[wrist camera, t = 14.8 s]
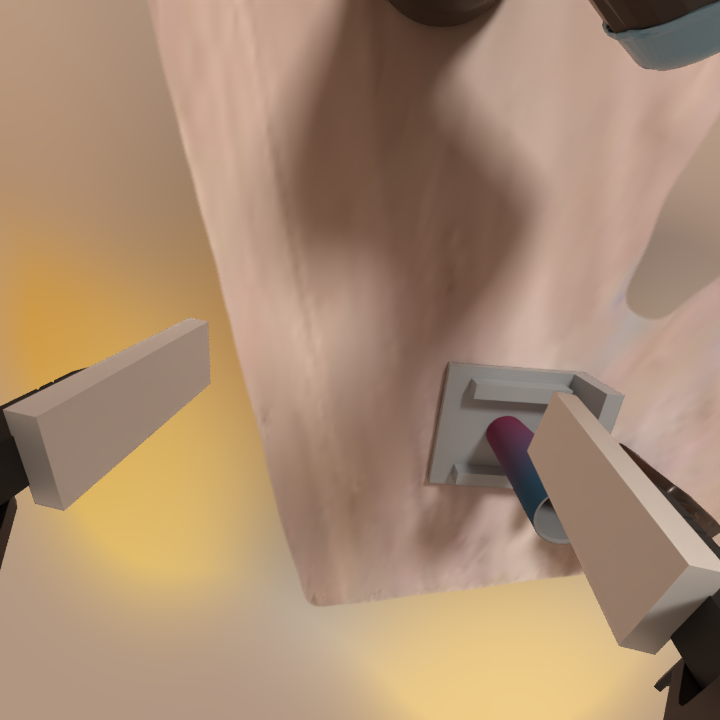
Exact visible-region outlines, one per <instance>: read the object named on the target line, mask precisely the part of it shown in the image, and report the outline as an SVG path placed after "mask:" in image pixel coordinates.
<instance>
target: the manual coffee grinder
mask: <svg viewBox="0 0 720 720" xmlns="http://www.w3.org/2000/svg"><path fill="white" fill-rule="evenodd" d="M619 445H620V446H621V447H622V448H623V450H624V451H625V452H626V453H627V454H628V455H629V456H630V458H631V459H632V460H633V461H634V462H635V463H636V464H637V466H638V467H639V468H640V469H641V470H642V471H643V473H644V474H645V475H646V476H647V477H648V478H649V479H650V481H651V482H652V483H653V484H655V485H658V486H659V487H660V488H662V489H663V490H664V491H665V492H667V493H668V494H669V495H671V496H672V497H673V498H674V499H676V500H677V501H678V502H679V503H680V504H681V505H682V506H683V507H684V508H685V510H686V511H687V512H688V513H689V514H690V515H691V516H692V517H693V521H696V522H697V523H698V524H699V525H700V526H701V527H702V528H703V530H704V531H705V532H706V535H707V536H710V537H711V538H713V537H714V536H716V535H717V534H719V533H720V525H719V524H718V523H717V521H716V520H715V519H714V518H713V517H712V516H711V515H710V514H709V513H708V512H706V511H705V510H704V509H703V508H702V507H701V506H700V505H699V504H698V503H697V502H696V501H695V500H694V499H693V498H692V497H691V496H690V495H688V494H687V493H685V492H684V491H683V490H681V489H680V488H678V487H677V486H676V485H674V484H673V483H672V482H670V481H669V480H668V479H667V478H665V477H664V476H663V475H661V474H660V473H659V472H658V471H656V470H655V469H654V468H653V467H651V466H650V465H649V464H648V463H646V462H645V461H644V460H643V459H642V458H641V457H640V456H639V455H638V454H636V453H635V452H633V451H632V450H630V449H629V448H627V447H626V446H624V445H623V444H621V443H619Z"/></svg>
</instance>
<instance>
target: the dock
mask: <svg viewBox="0 0 720 720" xmlns="http://www.w3.org/2000/svg"><path fill="white" fill-rule="evenodd" d="M554 391H557V392H562V393H567V394H572V395H576V396H577V397H578V398H579V399H580V400H581V401H582V403H583V404H584V405H585V406H586V407H587V408H588V409H589V411H590V412H591V413H592V414H593V415H594V416H595V417H596V419H597V420H598V421H599V422H600V423H601V424H602V425H603V427H604V428H605V429H606V430H607V431H608V432H609V434H611V432H612V429H613V426H614V423H615V421H616V418H617V415H618V413H619V410H620V407H621V405H622V402H623V399H624V397H625V395H623V394H621V393H620V392H618V391H616V390H614V389H613V388H611V387H609V386H608V385H606V384H604V383H602V382H601V381H599V380H597V379H595V378H594V377H592V376H590V375H589V374H587V373H585V372H572V371H559V370H545V369H532V368H518V367H505V366H491V365H478V364H464V363H451V362H448V367H447V373H446V379H445V384H444V390H443V396H442V401H441V407H440V413H439V418H438V424H437V429H436V435H435V441H434V446H433V452H432V458H431V463H430V469H429V475H428V481H429V483H437V484H453V485H461V486H477V487H494V488H510V489H513V487H512V485H511V484H510V482H509V480H508V478H507V476H506V474H505V472H504V470H503V468H502V467H501V465H500V463H499V461H498V459H497V457H496V455H495V453H494V451H493V450H492V448H491V446H490V444H489V442H488V440H487V437H486V432H487V428H488V426H489V425H490V424H491V422H493V421H494V420H495V419H497V418H499V417H502V416H513V417H515V418H517V419H519V420H520V421H521V422H522V423H523V424H524V425H525V426H526V427H527V428H529V429H530V430H531V431H532V432H533V433H534V434H535V432H536V430H537V428H538V426H539V424H540V422H541V419H542V417H543V415H544V413H545V411H546V408H547V406H548V404H549V402H550V400H551V398H552V395H553V393H554Z"/></svg>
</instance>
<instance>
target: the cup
mask: <svg viewBox="0 0 720 720" xmlns="http://www.w3.org/2000/svg"><path fill="white" fill-rule="evenodd" d="M534 435H535V434H534V433H533V432H532V431H531V430H530V429H529V428H527V427H526V426H525V425H524V424H523V423H522V422H521V421H520V420H519V419H517V418H515V417H513V416H502V417H499V418H497V419H495V420H494V421H493V422H491V424H490V425H489V426H488V428H487V432H486V437H487V440H488V442H489V444H490V446H491V448H492V450H493V451H494V453H495V455H496V457H497V459H498V461H499V463H500V465H501V467H502V468H503V470H504V472H505V474H506V476H507V478H508V480H509V482H510V484H511V485H512V487H513V489H514V491H515V493H516V495H517V497H518V499H519V501H520V502H521V504H522V506H523V508H524V510H525V512H526V514H527V516H528V518H529V519H530V521H531V523H532V525H533V527H534V529H535V531H536V532H537V534H538V535H539V536H540V537H542V538H543V539H544V540H546V541H548V542H551V543H555V544H570V541H569V539H568V537H567V535H566V533H565V530H564V528H563V526H562V524H561V522H560V520H559V518H558V516H557V513H556V511H555V509H554V507H553V505H552V503H551V501H550V499H549V496H548V494H547V492H546V490H545V488H544V486H543V484H542V482H541V479H540V477H539V475H538V473H537V471H536V469H535V467H534V465H533V462H532V460H531V458H530V456H529V454H528V452H527V450H528V448H529V445H530V443H531V441H532V439H533V437H534Z"/></svg>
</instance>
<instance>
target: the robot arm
mask: <svg viewBox="0 0 720 720" xmlns="http://www.w3.org/2000/svg"><path fill="white" fill-rule="evenodd" d="M389 1H390V2H391V3H392V4H393V5H394V6H395V7H396V8H397V9H398V10H399V11H401V12H402V13H403V14H405V15H406V16H408V17H409V18H411V19H413V20H415V21H417V22H420V23H423V24H427V25H432V26H452V25H457V24H460V23H463V22H466V21H468V20H471V19H473V18H475V17H476V16H478V15H480V14H481V13H483V12H484V11H485V10H487V9H488V8H489V7H490V6H492V5H493V4H494V3H495V2H496V1H497V0H389ZM589 1H590V3H591V4H592V6H593V7H594V8H595V10H596V11H597V13H598V14H599V15H600V17H601V18H602V20H603V24H602V27H603V29H604V31H605V33H606V34H607V35H608V36H609V37H611V38H613V39H615V40H618V41H619V43H620V44H621V45H622V46H623V48H624V49H625V50H626V51H627V52H628V54H629V55H630V56H631V57H632V59H633V60H634V61H635V62H636V63H637V64H638V65H639V66H641V67H642V68H645V69H652V70H658V71H666V70H672V69H677V68H681V67H684V66H687V65H690V64H693V63H696V62H698V61H701V60H703V59H706V58H708V57H710V56H713V55H715V54H717V53H719V52H720V0H589ZM209 384H210V361H209V332H208V321H203V320H198V319H193V318H188V319H186V320H184V321H182V322H180V323H177V324H175V325H173V326H171V327H169V328H167V329H165V330H163V331H161V332H159V333H157V334H155V335H153V336H151V337H149V338H147V339H145V340H143V341H141V342H139V343H137V344H135V345H133V346H131V347H129V348H127V349H125V350H123V351H121V352H119V353H117V354H115V355H113V356H111V357H109V358H106V359H105V360H102V361H100V362H99V363H96V364H94V365H92V366H90V367H87V368H83V369H80V370H77V371H73V372H70V373H68V374H66V375H64V376H62V377H60V378H58V379H56V380H54V382H50V383H48V384H46V385H43V386H41V387H40V388H39V390H37V389H35V390H33V391H31V392H29V393H27V394H25V395H23V396H21V397H18V398H17V399H14V400H12V401H10V402H8V403H6V404H4V405H2V406H0V569H1V565H2V561H3V558H4V554H5V550H6V546H7V543H8V539H9V536H10V532H11V528H12V525H13V521H14V517H15V513H16V510H17V503H16V499H15V495H16V494H18V493H19V492H20V491H22V490H23V489H24V488H26V487H27V486H29V487H30V490H31V493H32V496H33V499H34V502H35V504H38V505H42V506H46V507H51V508H55V509H59V510H63V511H64V510H65V509H67V508H68V507H69V506H70V505H71V504H72V503H73V502H75V501H76V500H77V499H78V498H79V497H80V496H82V495H83V494H84V493H85V492H86V491H87V490H88V489H90V488H91V487H92V486H93V485H94V484H95V483H96V482H98V481H99V480H100V479H101V478H102V477H103V476H105V475H106V474H107V473H108V472H109V471H110V470H112V468H114V467H115V466H116V465H117V464H118V463H119V462H121V461H122V460H123V459H124V458H125V457H126V456H128V455H129V454H130V453H131V452H132V451H133V450H134V449H136V448H137V447H138V446H139V445H140V444H141V443H142V442H144V441H145V440H146V439H147V438H148V437H149V436H151V435H152V434H153V433H154V432H155V431H156V430H158V429H159V428H160V427H161V426H162V425H163V424H164V423H166V422H167V421H168V420H169V419H170V418H171V417H172V416H174V415H175V414H176V413H177V412H178V411H179V410H180V409H182V408H183V407H184V406H185V405H186V404H187V403H188V402H190V401H191V400H192V399H193V398H194V397H195V396H197V395H198V394H199V393H200V392H201V391H202V390H203V389H204V388H206V387H207V386H208V385H209ZM527 452H528V454H529V456H530V458H531V460H532V462H533V465H534V467H535V469H536V471H537V473H538V475H539V477H540V479H541V482H542V484H543V486H544V488H545V490H546V492H547V494H548V496H549V499H550V501H551V503H552V505H553V507H554V509H555V511H556V513H557V516H558V518H559V520H560V522H561V524H562V526H563V528H564V530H565V533H566V535H567V537H568V539H569V541H570V543H571V545H572V547H573V550H574V552H575V554H576V556H577V558H578V560H579V562H580V564H581V567H582V569H583V571H584V573H585V575H586V577H587V579H588V581H589V584H590V586H591V588H592V590H593V592H594V594H595V596H596V598H597V601H598V603H599V605H600V607H601V609H602V611H603V613H604V615H605V617H606V620H607V622H608V624H609V626H610V628H611V630H612V632H613V635H614V637H615V639H616V641H617V643H618V645H619V646H621V647H625V648H630V649H634V650H638V651H642V652H646V653H650V654H654V655H655V654H656V653H657V652H658V651H659V650H660V649H661V648H662V647H663V646H664V645H665V644H666V643H667V642H668V641H669V640H670V639H671V640H672V641H673V643H674V645H675V646H676V648H677V650H678V651H679V653H680V655H681V656H682V658H681V659H680V660H679V661H678V662H677V663H676V664H675V665H674V666H673V667H672V668H671V669H670V670H669V671H668V672H667V673H665V674H664V675H663V677H661V678H660V679H659V680H658V682H657V683H656V684H655V686H654V687H655V688H656V689H657V690H658V691H660V692H661V691H662V690H663V689H664V688H665V687H666V686H670V687H669V692H668V698H667V703H666V708H665V714H664V719H663V720H720V547H719V546H718V545H717V544H716V543H715V542H714V541H713V539H712V538H711V537H710V536H707V535H706V532H705V531H704V530H703V528H702V527H701V526H700V525H699V524H698V523H697V522H696V521H693V517H692V516H691V515H690V514H689V513H688V512H687V511H686V510H685V508H684V507H683V506H682V505H681V504H680V503H679V502H678V501H677V500H676V499H674V498H673V497H672V496H671V495H669V494H668V493H667V492H665V491H664V490H663V489H662V488H660V487H659V486H658V485H655V484H653V483H652V482H651V481H650V479H649V478H648V477H647V476H646V475H645V474H644V473H643V471H642V470H641V469H640V468H639V467H638V466H637V464H636V463H635V462H634V461H633V460H632V459H631V458H630V456H629V455H628V454H627V453H626V452H625V451H624V450H623V448H622V447H621V446H620V445H619V444H618V443H617V442H616V440H615V439H614V438H613V437H612V436H611V435H610V434H609V432H608V431H607V430H606V429H605V428H604V427H603V425H602V424H601V423H600V422H599V421H598V420H597V419H596V417H595V416H594V415H593V414H592V413H591V412H590V411H589V409H588V408H587V407H586V406H585V405H584V404H583V403H582V401H581V400H580V399H579V398H578V397H577V396H576V395H572V394H567V393H562V392H557V391H554V393H553V395H552V398H551V400H550V402H549V404H548V406H547V408H546V411H545V413H544V415H543V417H542V419H541V422H540V424H539V426H538V428H537V430H536V432H535V435H534V437H533V439H532V441H531V443H530V445H529V448H528V450H527Z"/></svg>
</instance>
